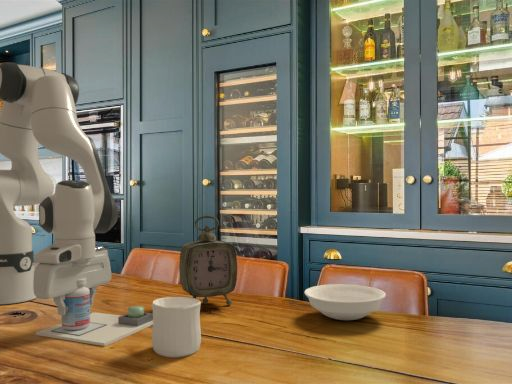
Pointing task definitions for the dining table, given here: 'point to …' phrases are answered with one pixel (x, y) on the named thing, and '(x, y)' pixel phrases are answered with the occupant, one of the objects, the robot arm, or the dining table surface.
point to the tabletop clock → (208, 266)
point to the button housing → (135, 319)
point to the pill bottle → (77, 308)
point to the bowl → (345, 300)
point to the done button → (135, 311)
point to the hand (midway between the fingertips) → (76, 310)
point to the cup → (176, 326)
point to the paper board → (95, 330)
